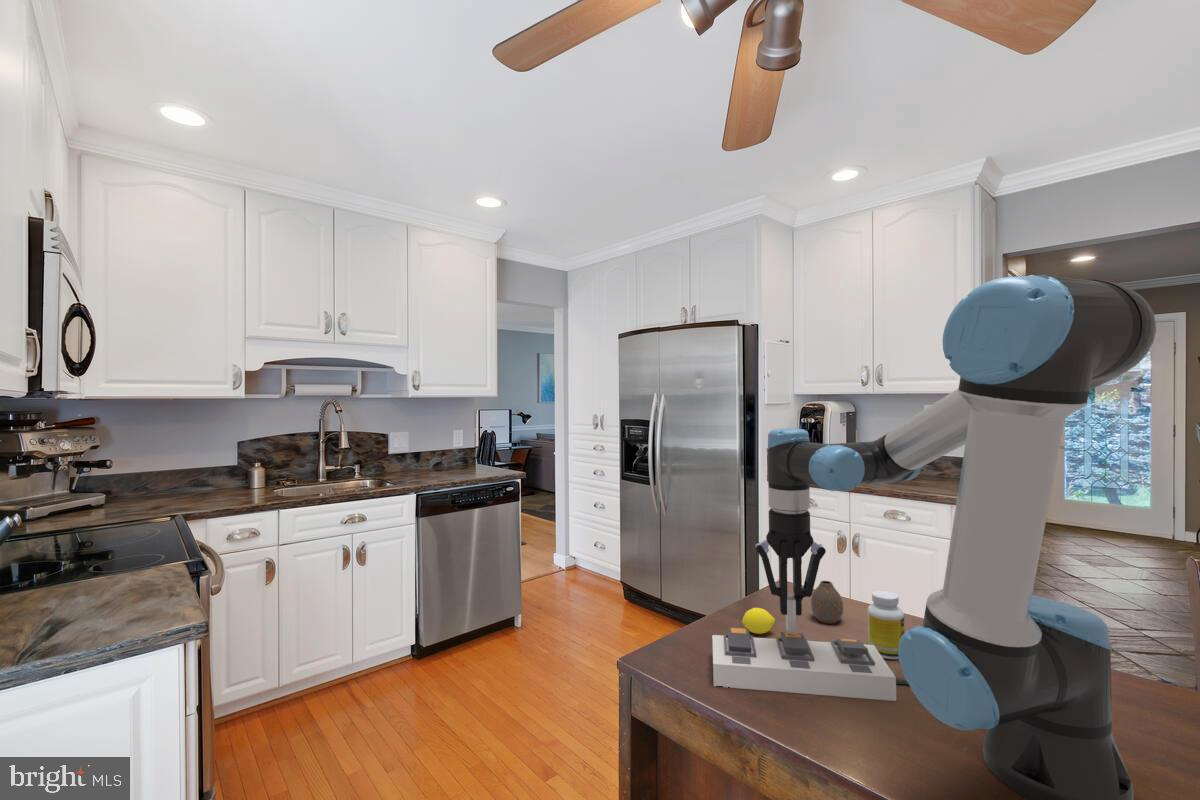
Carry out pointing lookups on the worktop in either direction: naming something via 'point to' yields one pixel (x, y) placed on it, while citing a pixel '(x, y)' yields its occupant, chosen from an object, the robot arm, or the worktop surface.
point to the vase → (827, 603)
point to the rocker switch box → (804, 669)
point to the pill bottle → (885, 624)
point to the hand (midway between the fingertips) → (790, 630)
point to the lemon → (758, 620)
